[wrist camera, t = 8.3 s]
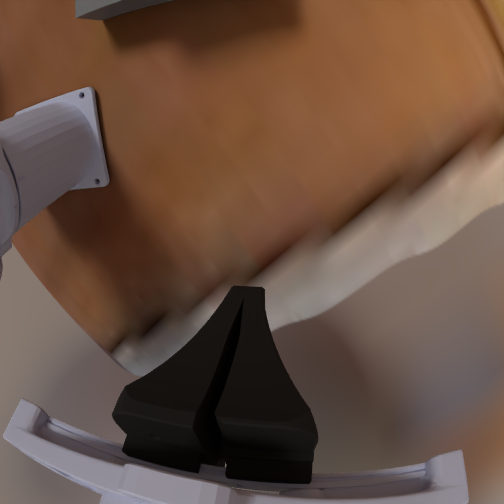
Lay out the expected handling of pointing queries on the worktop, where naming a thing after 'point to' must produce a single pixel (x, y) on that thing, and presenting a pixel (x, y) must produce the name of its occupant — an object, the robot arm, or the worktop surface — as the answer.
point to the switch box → (110, 7)
